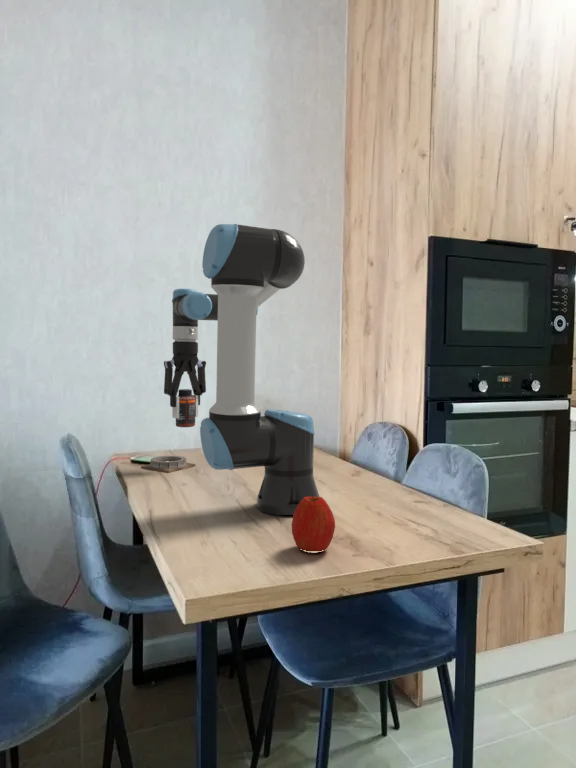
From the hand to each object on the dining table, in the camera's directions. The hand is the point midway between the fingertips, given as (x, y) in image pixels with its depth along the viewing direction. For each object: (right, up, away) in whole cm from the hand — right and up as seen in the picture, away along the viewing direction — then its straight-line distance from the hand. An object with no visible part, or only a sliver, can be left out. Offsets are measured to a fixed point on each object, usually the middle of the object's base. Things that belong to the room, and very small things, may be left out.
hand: (185, 416), depth 165 cm
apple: (+36, -21, -63) cm, 76 cm away
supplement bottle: (0, -3, 0) cm, 3 cm away
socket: (-7, -17, +8) cm, 20 cm away
